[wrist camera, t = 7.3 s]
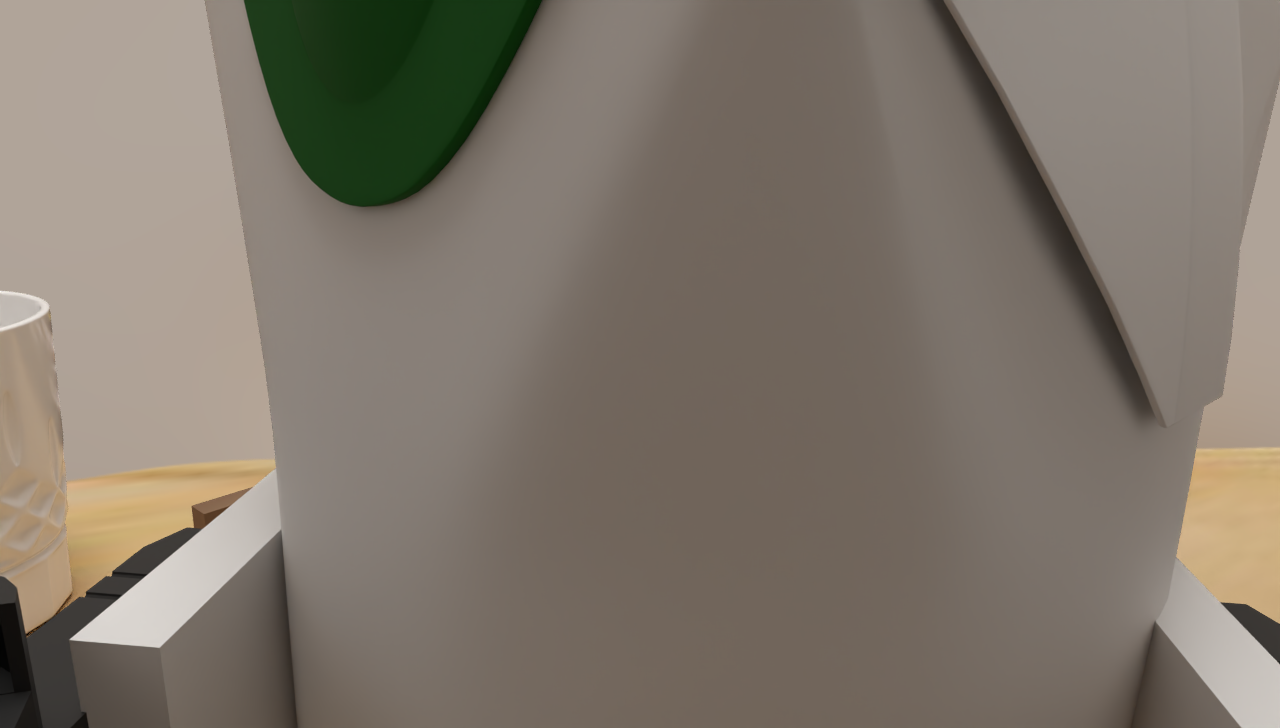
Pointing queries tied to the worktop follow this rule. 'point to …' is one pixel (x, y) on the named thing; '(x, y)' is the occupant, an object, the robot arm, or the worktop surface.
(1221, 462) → the worktop surface
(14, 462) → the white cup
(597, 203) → the white two-tone container
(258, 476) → the worktop surface
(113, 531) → the worktop surface
